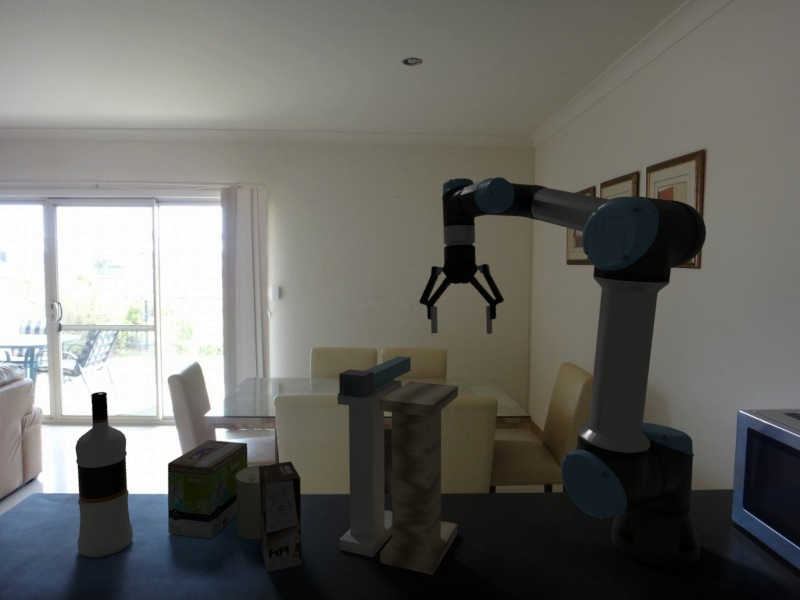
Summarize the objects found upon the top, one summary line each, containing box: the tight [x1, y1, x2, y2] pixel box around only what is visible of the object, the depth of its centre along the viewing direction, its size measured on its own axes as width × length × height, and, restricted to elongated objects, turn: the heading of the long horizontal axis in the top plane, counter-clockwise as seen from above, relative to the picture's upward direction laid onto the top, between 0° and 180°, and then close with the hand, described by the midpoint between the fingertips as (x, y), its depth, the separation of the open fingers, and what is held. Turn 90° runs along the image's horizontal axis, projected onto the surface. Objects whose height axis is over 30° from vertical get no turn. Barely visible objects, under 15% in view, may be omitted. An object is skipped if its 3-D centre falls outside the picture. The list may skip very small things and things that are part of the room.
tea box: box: [167, 439, 249, 539], centre depth 111 cm, size 15×10×15 cm
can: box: [236, 464, 268, 540], centre depth 108 cm, size 9×9×12 cm
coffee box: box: [259, 461, 302, 573], centre depth 97 cm, size 9×6×16 cm
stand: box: [336, 379, 402, 558], centre depth 104 cm, size 7×14×30 cm, turn 157°
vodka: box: [74, 391, 134, 559], centre depth 100 cm, size 9×9×30 cm
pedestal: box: [379, 381, 459, 576], centre depth 99 cm, size 10×15×30 cm, turn 157°
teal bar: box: [338, 356, 412, 398], centre depth 107 cm, size 5×25×4 cm, turn 157°
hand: (461, 333), depth 127 cm, fingers open, 13 cm apart
